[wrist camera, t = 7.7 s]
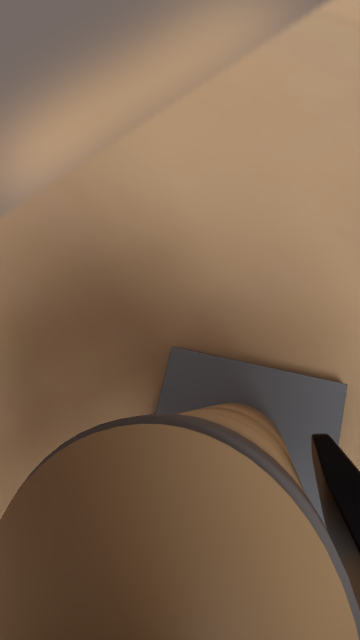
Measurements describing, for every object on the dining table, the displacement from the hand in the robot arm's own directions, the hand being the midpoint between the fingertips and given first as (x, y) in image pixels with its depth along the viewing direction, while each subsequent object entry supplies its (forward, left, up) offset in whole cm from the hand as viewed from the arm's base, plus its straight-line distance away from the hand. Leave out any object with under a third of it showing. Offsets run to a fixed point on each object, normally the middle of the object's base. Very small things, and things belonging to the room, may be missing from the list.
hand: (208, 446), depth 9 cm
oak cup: (-1, 0, -8) cm, 8 cm away
